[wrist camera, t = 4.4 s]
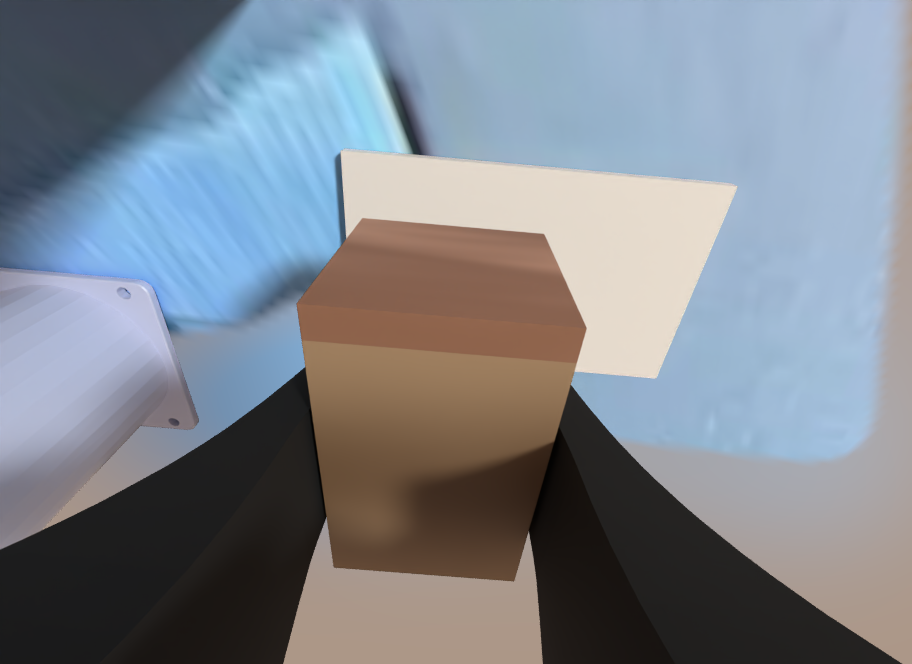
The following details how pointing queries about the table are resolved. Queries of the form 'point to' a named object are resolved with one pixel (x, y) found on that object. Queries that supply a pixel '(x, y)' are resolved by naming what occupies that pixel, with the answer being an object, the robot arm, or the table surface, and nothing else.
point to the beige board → (567, 236)
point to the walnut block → (436, 393)
